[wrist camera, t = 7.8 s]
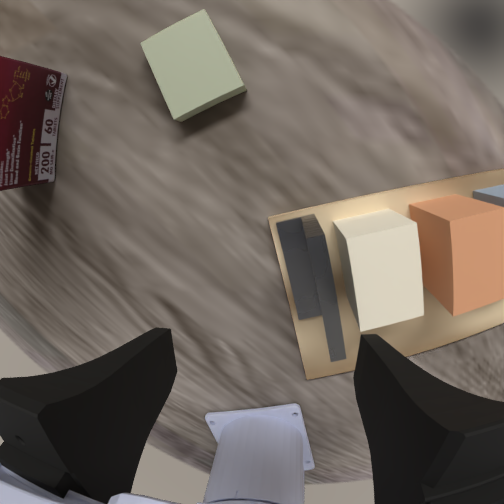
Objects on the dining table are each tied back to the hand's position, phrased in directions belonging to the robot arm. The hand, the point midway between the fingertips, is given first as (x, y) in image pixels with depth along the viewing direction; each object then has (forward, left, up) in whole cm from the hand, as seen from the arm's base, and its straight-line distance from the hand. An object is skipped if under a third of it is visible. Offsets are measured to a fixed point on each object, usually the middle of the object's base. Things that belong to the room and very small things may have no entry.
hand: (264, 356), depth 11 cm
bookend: (0, -2, -9) cm, 9 cm away
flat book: (+14, +1, -10) cm, 17 cm away
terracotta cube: (0, -11, -9) cm, 14 cm away
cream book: (0, -6, -9) cm, 11 cm away
